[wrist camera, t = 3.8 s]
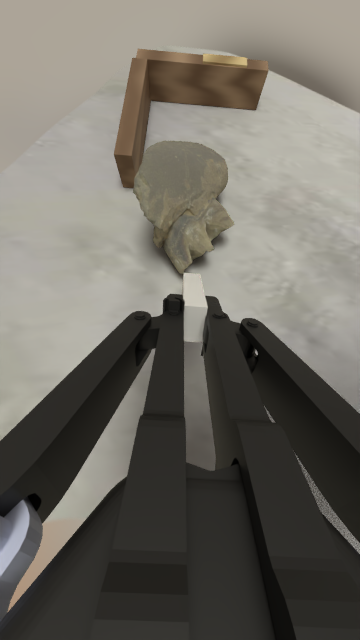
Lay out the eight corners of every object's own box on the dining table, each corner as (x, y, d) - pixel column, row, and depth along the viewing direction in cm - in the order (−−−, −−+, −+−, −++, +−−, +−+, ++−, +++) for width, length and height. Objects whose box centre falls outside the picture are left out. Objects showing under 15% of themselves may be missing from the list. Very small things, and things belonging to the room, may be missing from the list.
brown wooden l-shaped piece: (255, 100, 30) (268, 58, 25) (259, 198, 25) (276, 166, 21) (139, 90, 29) (133, 45, 25) (123, 187, 25) (113, 152, 21)
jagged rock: (146, 255, 27) (193, 288, 22) (90, 182, 18) (147, 209, 13) (212, 184, 27) (274, 200, 22) (189, 78, 18) (285, 63, 13)
